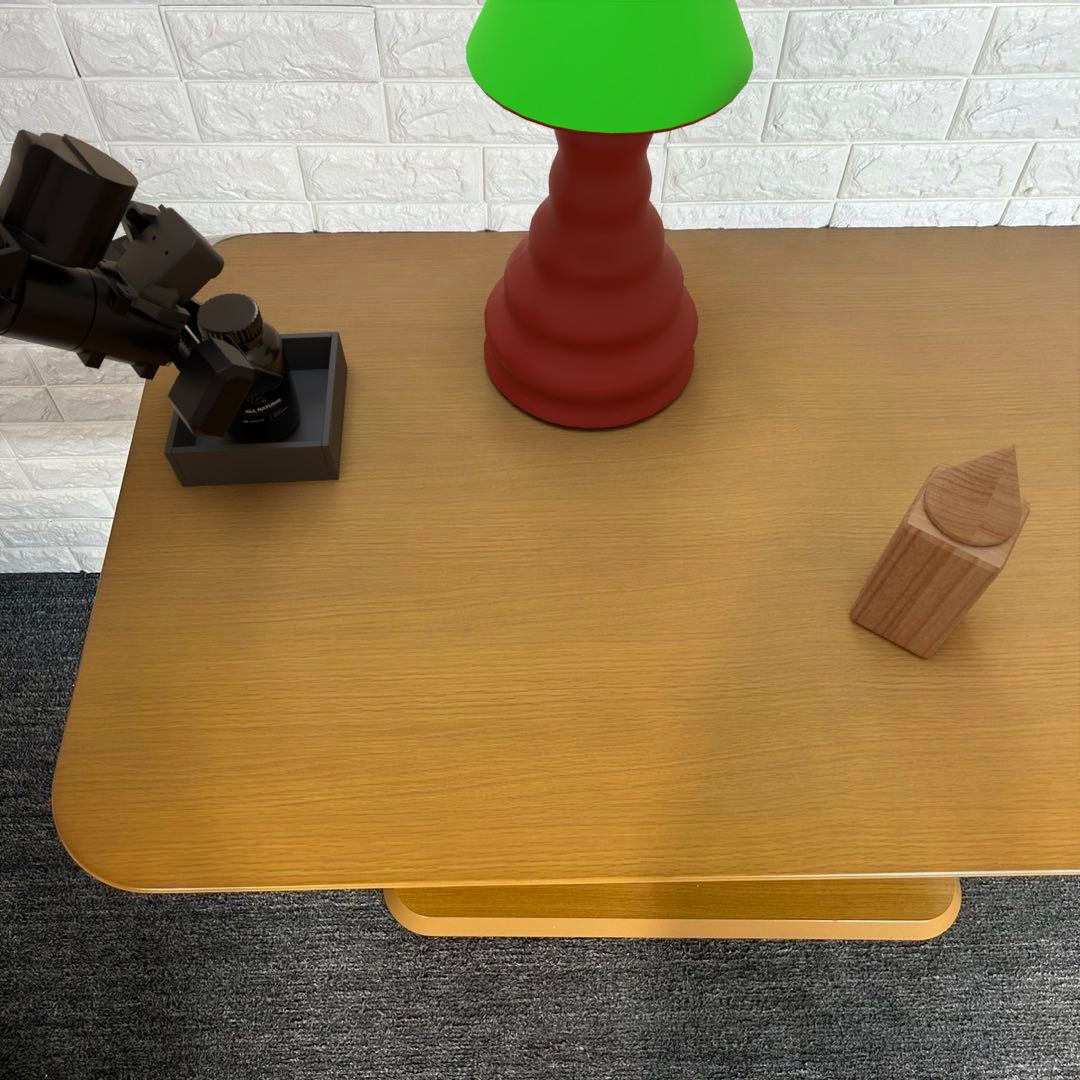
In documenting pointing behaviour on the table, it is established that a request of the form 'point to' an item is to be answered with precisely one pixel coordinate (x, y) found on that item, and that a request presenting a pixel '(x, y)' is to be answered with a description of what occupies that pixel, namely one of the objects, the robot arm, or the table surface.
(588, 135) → the table lamp
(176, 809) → the table surface
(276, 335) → the supplement bottle
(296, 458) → the bin
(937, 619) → the decorative item
